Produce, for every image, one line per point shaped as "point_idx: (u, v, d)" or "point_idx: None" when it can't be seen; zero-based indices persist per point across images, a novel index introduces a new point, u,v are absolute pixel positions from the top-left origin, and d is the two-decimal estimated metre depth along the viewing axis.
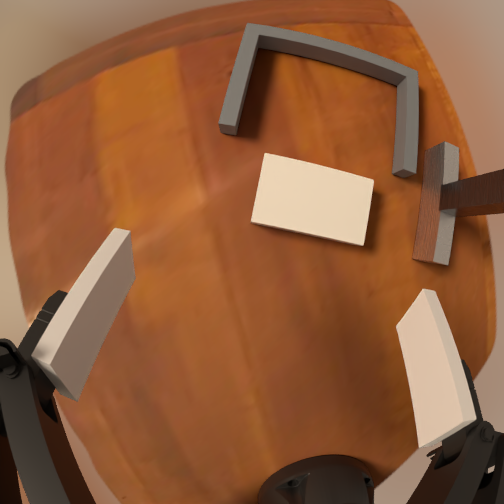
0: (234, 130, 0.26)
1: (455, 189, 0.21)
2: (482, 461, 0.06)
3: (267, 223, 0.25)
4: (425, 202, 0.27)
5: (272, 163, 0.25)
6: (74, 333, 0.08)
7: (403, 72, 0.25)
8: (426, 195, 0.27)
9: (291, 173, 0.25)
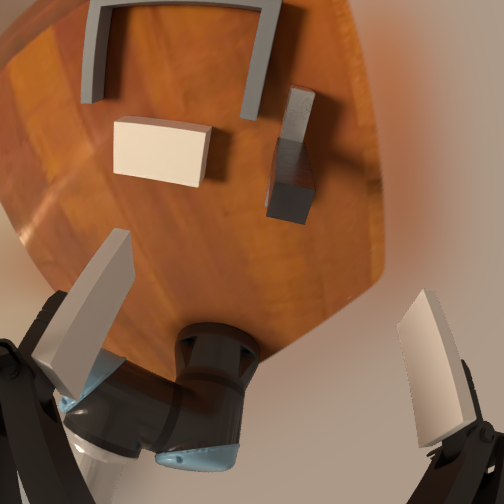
0: (96, 101, 0.26)
1: (275, 153, 0.24)
2: (482, 461, 0.06)
3: (124, 173, 0.30)
4: None
5: (120, 128, 0.27)
6: (74, 333, 0.08)
7: (258, 3, 0.19)
8: (279, 135, 0.28)
9: (135, 135, 0.27)
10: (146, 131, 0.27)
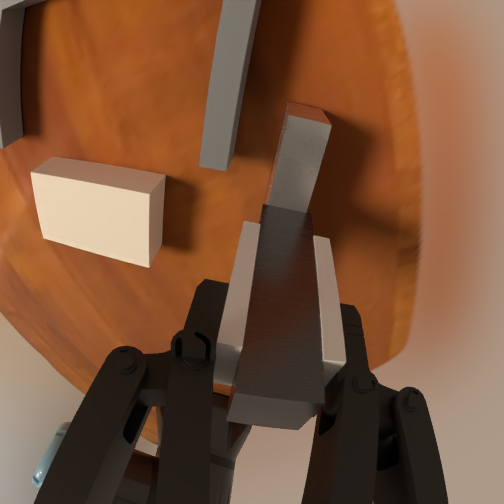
0: (12, 142, 0.16)
1: None
2: (369, 416, 0.07)
3: (55, 240, 0.20)
4: (266, 199, 0.18)
5: (39, 182, 0.17)
6: None
7: None
8: (268, 189, 0.18)
9: (57, 193, 0.17)
10: (69, 188, 0.17)
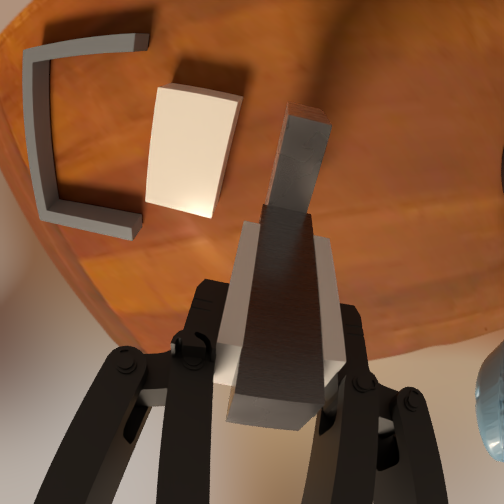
0: (136, 222, 0.28)
1: None
2: (369, 416, 0.07)
3: (212, 204, 0.24)
4: (266, 200, 0.18)
5: (153, 195, 0.24)
6: None
7: (29, 66, 0.17)
8: (268, 189, 0.18)
9: (161, 178, 0.23)
10: (156, 162, 0.22)
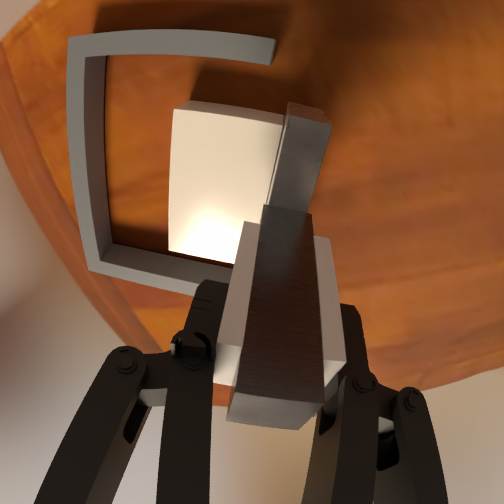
0: None
1: None
2: (369, 416, 0.07)
3: None
4: None
5: (178, 243, 0.20)
6: None
7: (79, 63, 0.13)
8: (269, 189, 0.18)
9: (187, 223, 0.19)
10: (179, 205, 0.19)
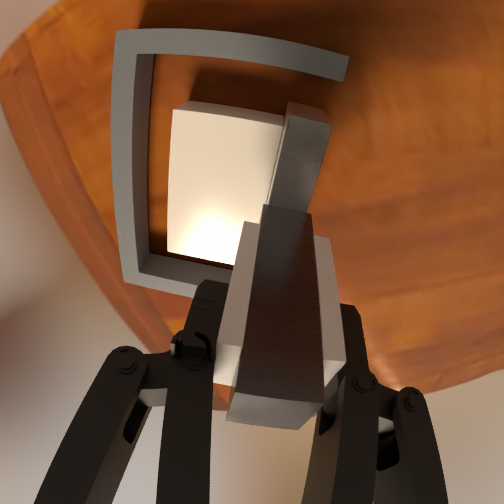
0: None
1: None
2: (370, 416, 0.07)
3: None
4: None
5: (177, 244, 0.20)
6: None
7: (129, 60, 0.13)
8: None
9: (186, 224, 0.19)
10: (178, 206, 0.18)
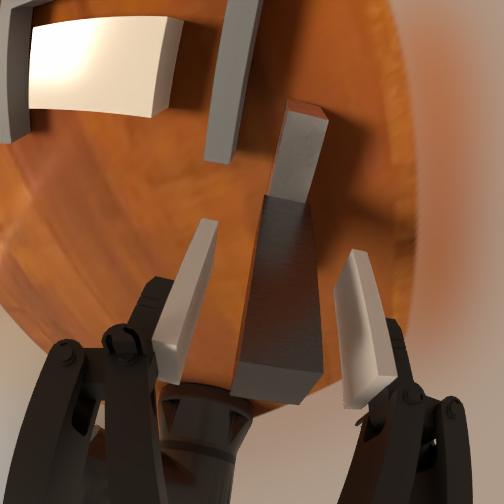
0: (20, 137, 0.17)
1: (257, 232, 0.14)
2: (415, 426, 0.07)
3: (41, 107, 0.14)
4: (267, 192, 0.19)
5: (39, 36, 0.11)
6: (188, 315, 0.09)
7: None
8: (269, 182, 0.19)
9: (57, 41, 0.12)
10: (73, 31, 0.11)
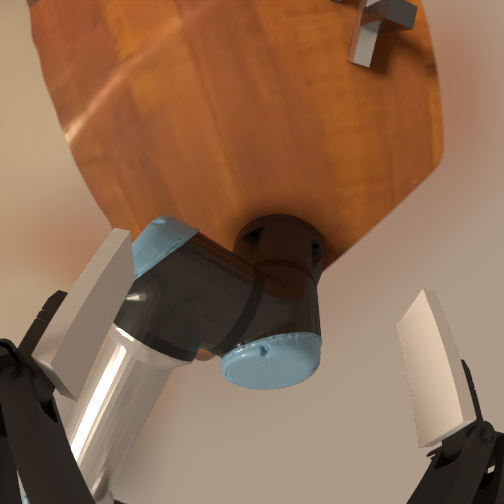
0: None
1: (367, 11, 0.22)
2: (482, 461, 0.06)
3: None
4: (357, 20, 0.26)
5: None
6: (74, 333, 0.08)
7: None
8: (358, 15, 0.26)
9: None
10: None
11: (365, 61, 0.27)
